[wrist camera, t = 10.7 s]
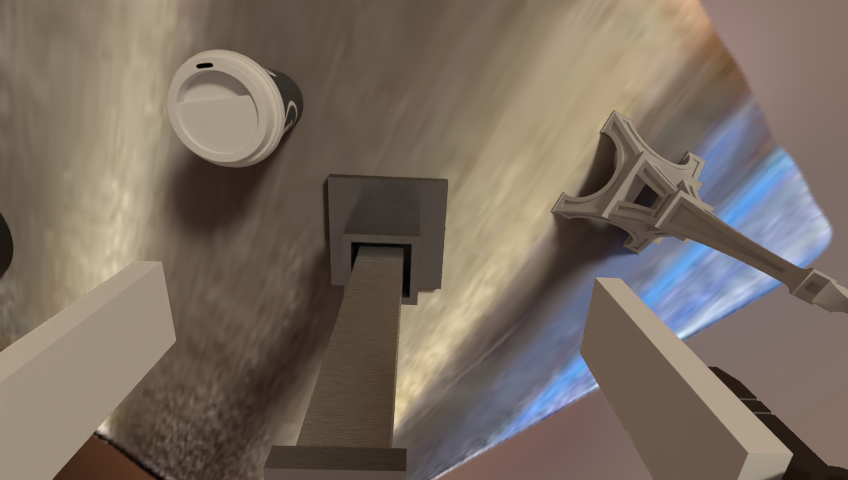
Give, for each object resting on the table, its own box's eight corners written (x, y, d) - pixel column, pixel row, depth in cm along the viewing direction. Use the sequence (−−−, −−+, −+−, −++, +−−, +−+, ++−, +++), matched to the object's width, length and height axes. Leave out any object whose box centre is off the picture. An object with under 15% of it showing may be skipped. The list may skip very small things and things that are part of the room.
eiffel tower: (613, 110, 50) (862, 158, 22) (704, 160, 52) (1034, 262, 24) (551, 210, 54) (694, 357, 26) (638, 253, 57) (855, 430, 29)
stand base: (333, 279, 57) (312, 332, 46) (330, 174, 52) (305, 203, 41) (440, 283, 58) (446, 336, 46) (447, 179, 52) (455, 209, 41)
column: (352, 291, 46) (274, 563, 21) (352, 238, 44) (263, 468, 18) (409, 293, 46) (401, 565, 21) (411, 240, 44) (406, 471, 19)
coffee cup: (324, 70, 48) (286, 69, 34) (308, 154, 51) (267, 185, 37) (236, 43, 47) (160, 31, 33) (225, 131, 50) (152, 154, 36)
